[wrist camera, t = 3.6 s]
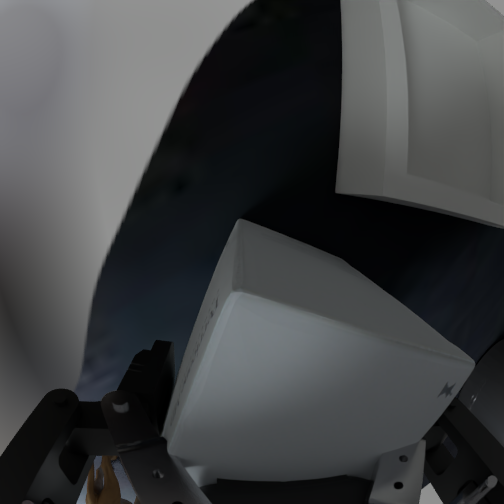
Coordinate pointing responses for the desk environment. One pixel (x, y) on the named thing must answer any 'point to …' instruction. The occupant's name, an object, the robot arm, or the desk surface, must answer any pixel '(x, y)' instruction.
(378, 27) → the tray
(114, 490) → the lion figurine
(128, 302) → the desk surface
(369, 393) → the skincare box
